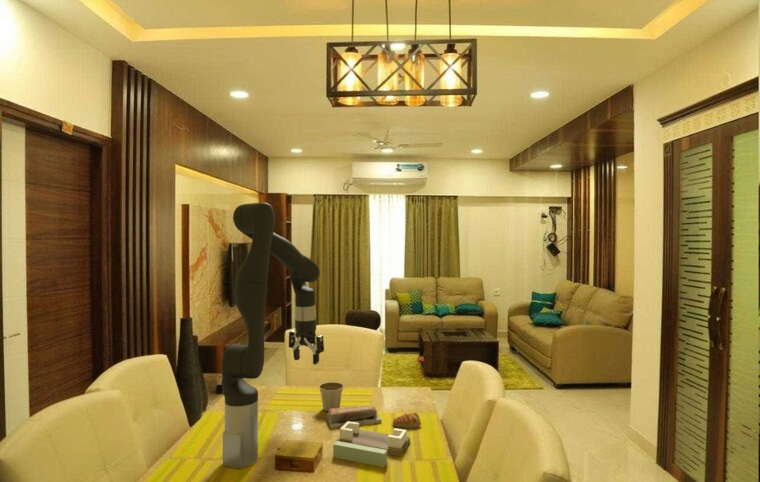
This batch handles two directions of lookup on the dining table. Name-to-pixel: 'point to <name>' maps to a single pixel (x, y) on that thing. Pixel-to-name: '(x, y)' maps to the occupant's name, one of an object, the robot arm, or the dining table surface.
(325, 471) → the dining table surface
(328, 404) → the flower pot
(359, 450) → the slat
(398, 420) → the pastry
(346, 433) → the cap far
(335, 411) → the packaged product
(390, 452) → the board
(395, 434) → the cap near
